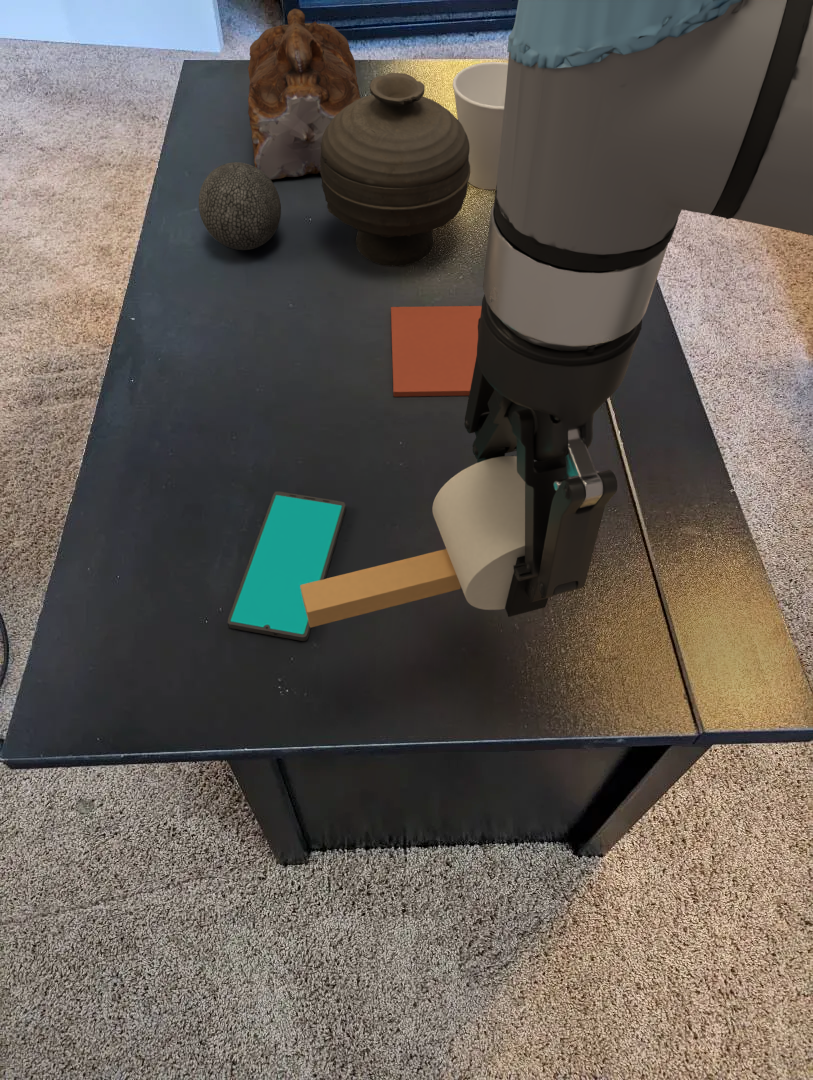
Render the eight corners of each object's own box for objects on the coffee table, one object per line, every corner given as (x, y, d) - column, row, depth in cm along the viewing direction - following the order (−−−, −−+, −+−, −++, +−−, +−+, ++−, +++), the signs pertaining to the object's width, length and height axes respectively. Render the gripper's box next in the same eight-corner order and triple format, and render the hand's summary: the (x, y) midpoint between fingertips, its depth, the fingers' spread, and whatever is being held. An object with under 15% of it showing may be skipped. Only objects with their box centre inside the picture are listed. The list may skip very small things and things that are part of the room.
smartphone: (345, 502, 74) (305, 637, 66) (346, 507, 75) (306, 642, 67) (273, 490, 75) (225, 623, 67) (274, 495, 76) (226, 627, 68)
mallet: (318, 659, 50) (306, 600, 44) (295, 572, 54) (281, 505, 47) (568, 592, 53) (593, 528, 47) (531, 514, 57) (549, 444, 50)
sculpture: (219, 166, 102) (222, 90, 113) (336, 227, 112) (328, 152, 123) (284, 34, 90) (280, -36, 101) (409, 116, 100) (393, 43, 111)
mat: (572, 309, 92) (573, 304, 91) (591, 394, 84) (593, 388, 84) (390, 312, 91) (390, 306, 91) (393, 397, 84) (393, 391, 83)
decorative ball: (298, 229, 100) (289, 155, 92) (263, 274, 95) (250, 200, 87) (231, 212, 102) (216, 138, 94) (193, 255, 97) (174, 181, 89)
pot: (494, 223, 100) (502, 65, 83) (421, 307, 93) (412, 154, 76) (383, 182, 106) (368, 26, 89) (305, 258, 99) (273, 105, 82)
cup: (429, 176, 107) (433, 84, 97) (482, 143, 112) (491, 52, 102) (495, 211, 103) (506, 118, 93) (547, 174, 108) (563, 82, 97)
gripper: (746, 440, 31) (612, 672, 50) (555, 171, 41) (505, 448, 60) (575, 481, 29) (505, 703, 48) (423, 192, 40) (415, 468, 59)
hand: (505, 561), depth 54 cm, fingers closed on mallet, 7 cm apart
